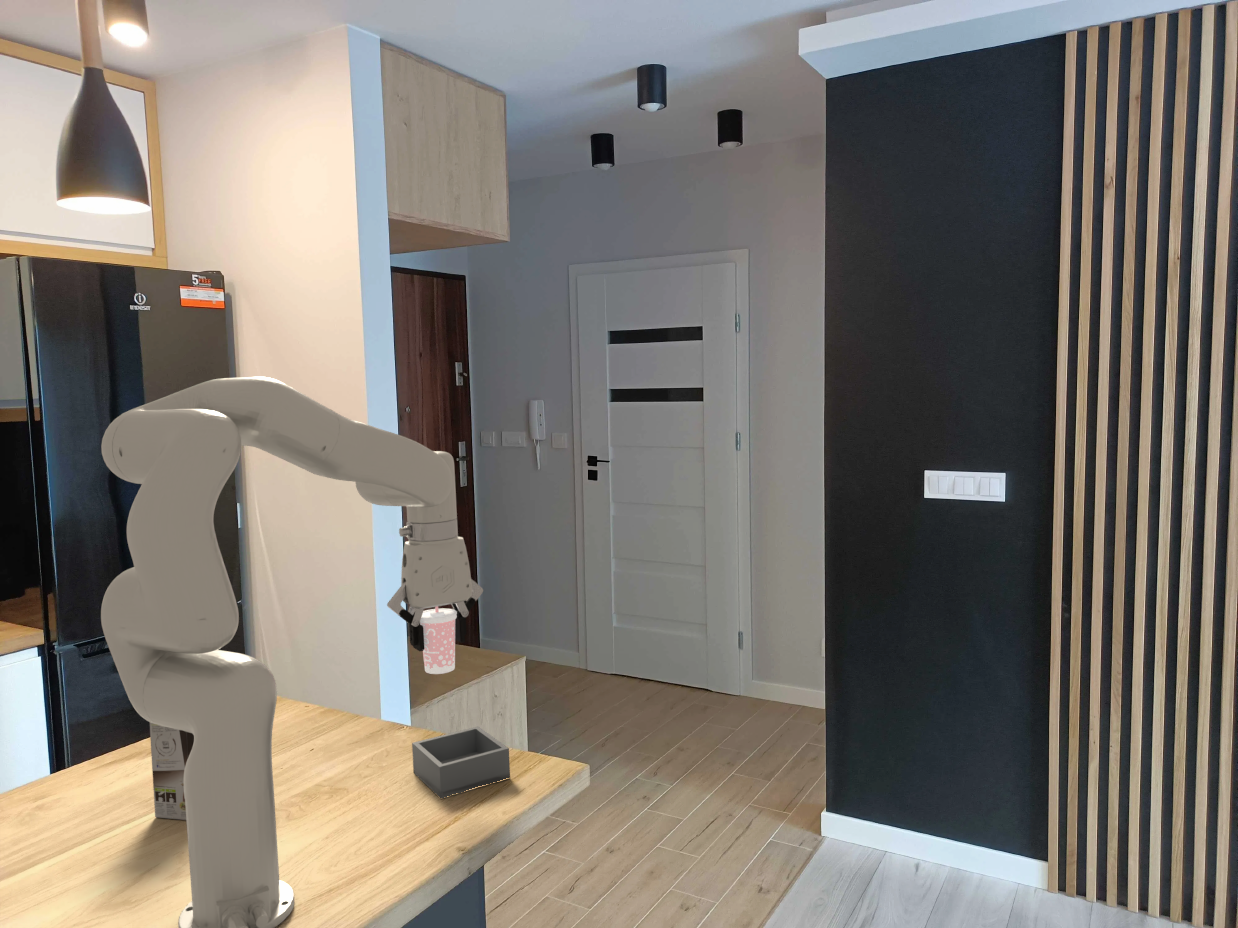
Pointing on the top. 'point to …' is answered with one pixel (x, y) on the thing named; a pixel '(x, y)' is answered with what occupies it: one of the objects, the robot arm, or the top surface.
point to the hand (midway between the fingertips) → (438, 643)
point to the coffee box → (169, 769)
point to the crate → (460, 761)
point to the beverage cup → (439, 640)
